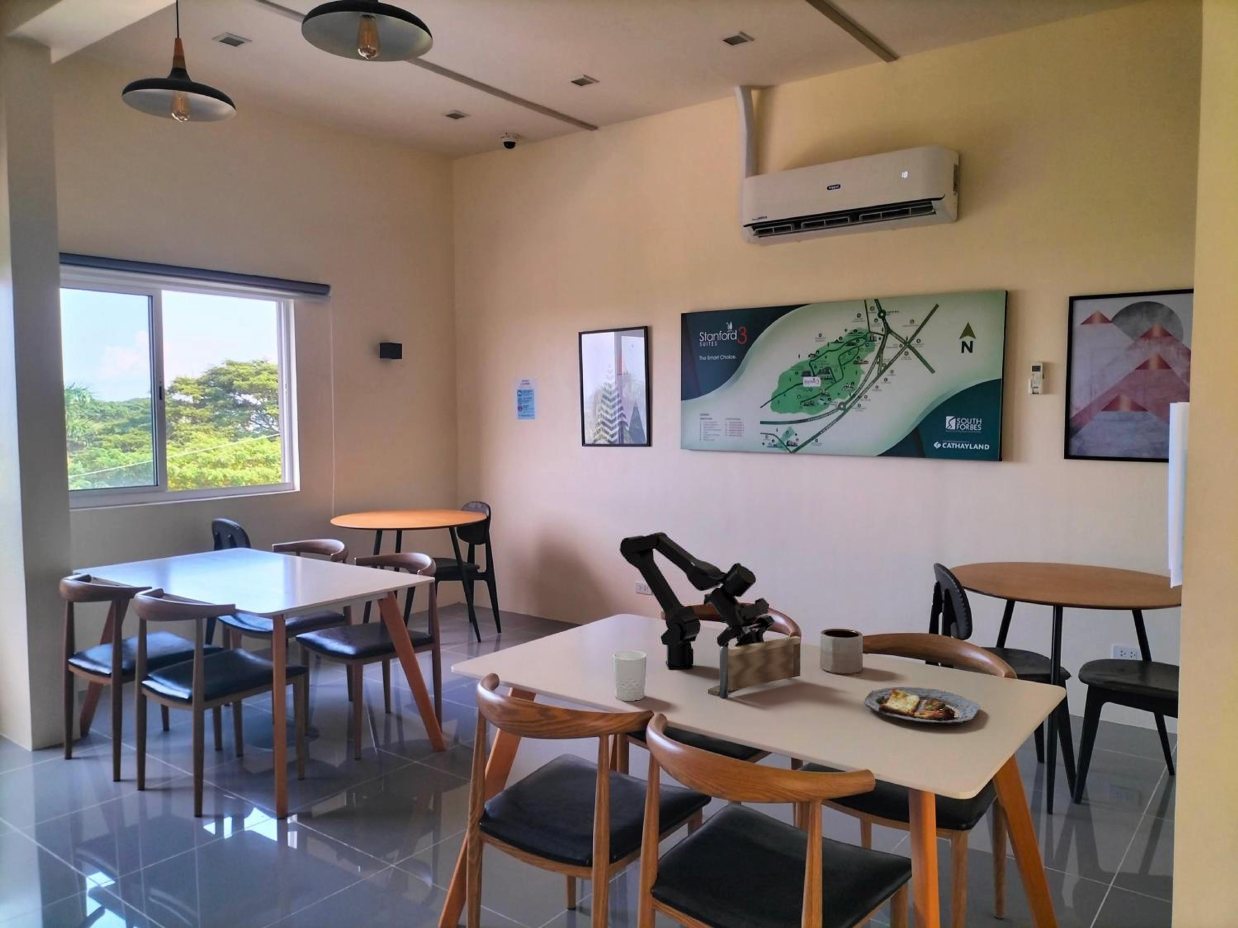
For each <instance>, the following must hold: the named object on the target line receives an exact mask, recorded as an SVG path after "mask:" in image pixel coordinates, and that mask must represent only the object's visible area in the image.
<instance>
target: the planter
mask: <svg viewBox="0 0 1238 928" xmlns="http://www.w3.org/2000/svg"><path fill="white" fill-rule="evenodd" d="M863 639H864V638H863V633H862V632H860V631H857V630H853V629H849V628H848V629H847V628H827V629H823V630H821V631H820V639H819V640H820V641H819V642H820V643H819V646H820V647H819V666H820V668H821V669H822V670H823V671H824V672H827V673H831V674H835V675H855V673H856V674H858V673H860V672H861V671H862V670H863V667H864V666H863V664H864V663H863V659H864V658H863V656H864V654H863V652H864V651H863V645H864V644H863V642H864V641H863Z"/></svg>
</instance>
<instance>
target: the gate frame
mask: <svg viewBox="0 0 1238 928" xmlns="http://www.w3.org/2000/svg"><path fill="white" fill-rule="evenodd" d="M728 648H729V646H719V684H718V685H715V686H713V687H710V688H708V689H707V694H708V695H713V696H716V697H719V698H720V699H728V698H729V692H731V691H733V690H729V689H728ZM719 695H720V696H719Z"/></svg>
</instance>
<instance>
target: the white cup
mask: <svg viewBox="0 0 1238 928" xmlns="http://www.w3.org/2000/svg"><path fill="white" fill-rule="evenodd" d="M612 661H613V679H614V690H615V692H614V693H615V694H614V695H615V698H616V699H617V700H619V701H625V702H636V701H635V700H637V701H640V700H642V698H643V699H644V697H645V687H646V677H647V675H646V674H647V672H646V671H647V654H646V653H645V652H643V651H637V650H623V651H622V650H621V651H617V652H615V653H613V655H612Z"/></svg>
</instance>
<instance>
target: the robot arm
mask: <svg viewBox="0 0 1238 928" xmlns="http://www.w3.org/2000/svg"><path fill="white" fill-rule="evenodd" d="M619 546H620V547H619V552H620V554H621V556H622V557H623V558H624V559H625V560H626V562H627V563H628V564H630V565H631V566H632V567H634V568H636V569H637V570H638V571H639V573H640V574H641V576H642V579H643V580H644V581H645V582H646V584H647V585H648V587H649V590H650V591H651V593H652V594H653V595H654V598H655V599H656V601H657V603H658V604H659V606H660V607H661V609H662V611H663V612H664V617H665V618H664V619H665V620H664V621H665V625H666V628H667V629H666V630H665V632H663V633H662V634H661V636H660V640H661V644H662V645H665V646H666V660H665V665H666V667H667V669H668V670H679V669H680V670H685V669H686V670H687V669H693V665H694V648H693V647H692V642H693V643H694V642H696V639H697V637H698V635H699V633H700V631H701V627H702V626H701V622H700V621H701V620H699V619H700V616H699V615H698V614H697V613H696V611H695V609H694V607H693V606H692V605H686V606H685V605H683V604H682V603H681V602H680V600H679V598H678V597H677V595H676V593H675V592H674V590H673V589H672V587H671V585H670V584H669V582H668V581H667V579H666V577H665V576H664V574H663V573H662V571H661V569H660V568H659V566H658V565H657V564H656V561H655V560H654V559H655V556H654V549H655V550H656V551H657V552H658V553H659V554H661V555H662V556H663V557H664V558H666V559H668V560H669V562H671V563H672V564H674V565H675V566H676V567H677V568H678V569H680V570H681V571H682V572H683V573H684V574H685V575H686V578H687V581H688V582H689V583H690V584H691V585H692V586H693V587H694V588H695V590H698V591H700V592H704V591H708V590H712V589H713V590H712V591H711V592H710V593H705V594H704V598H703V599H704V600H703V606H708V605H710V604H711V605H713V607H714V608H715V610H716V612H717V613H718V614H719V615H720V616H721V618H720V619H719V621H720V623H722V624H723V623H726V625H727V627H725V629H723V630H722V632H721V633H720V634H719V635H718V636H717V637H716V643H717V645H718V646H719V647H720V646H728V647H729V645H730V644H729V642H730V641H732V640H733V639H736V643H735V644H734V647H737V646H743V645H748V644H754V643H760V642H765V639H764V634H765V633H766V632H767V631H768V630H769V629H770V628H771V627H772V626H773V625H775V623H776V620H775V619H774V618H773V616H772V615H768V613H769V609H770V603H769V602H767V600H766V599H765V598H764V597H761V598H758V599H755V600H754V603H752V604H750V605H747V604H746V603H740V601H739V600H738V599H737V598H741V597H743V595H745V594H746V592H747V591H749V590H750V589H751V587H753V585H754V584H755V583H756V582H757V578H756V575H755V573H754V572H753V571H752V570H750V569H749V568H747V567H746V566H744V565H742V564H741V563H740V562H736V563H734V564H732V566H731V567H730V569H729V570H728V571H727V572H726V571H725V572H724V571H722V570H721V569H720V568H719V567H718V566H716V565H713V564H712V563H709V562H708V561H704V560H700V559H698V558H696V557H695V556H694V555H693V554H691V553H690V552H688V550H686V549H684V548H683V547H682V546H681V545H679V544H678V543H677V542H676V541H674V540H673V539H671V538H670V537H669V536H668V534H667V533H665V532H663V531H659V532H652V533H649V534H648V535H641V534H640V535H635V536H628V537H627V536H626V537H624V538H623V539H622V540H621V542H620V545H619ZM769 614H770V613H769Z"/></svg>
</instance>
